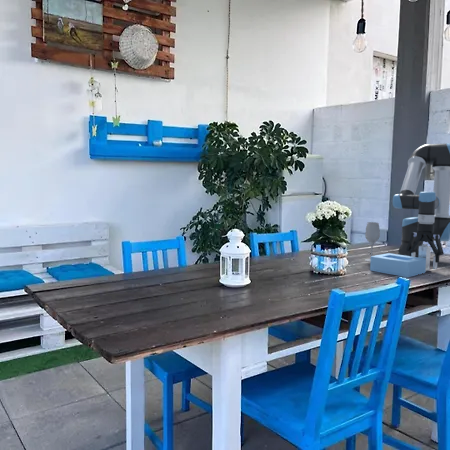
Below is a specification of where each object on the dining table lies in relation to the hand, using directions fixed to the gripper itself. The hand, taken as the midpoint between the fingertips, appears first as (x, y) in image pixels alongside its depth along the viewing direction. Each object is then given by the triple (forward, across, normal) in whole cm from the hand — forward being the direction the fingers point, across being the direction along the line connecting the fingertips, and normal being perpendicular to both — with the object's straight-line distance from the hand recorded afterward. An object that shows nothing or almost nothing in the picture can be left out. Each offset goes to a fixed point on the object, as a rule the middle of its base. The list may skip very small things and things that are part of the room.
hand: (423, 267), depth 234 cm
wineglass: (+2, -31, +2) cm, 31 cm away
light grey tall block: (+2, 0, 0) cm, 2 cm away
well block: (+1, -6, -14) cm, 15 cm away
